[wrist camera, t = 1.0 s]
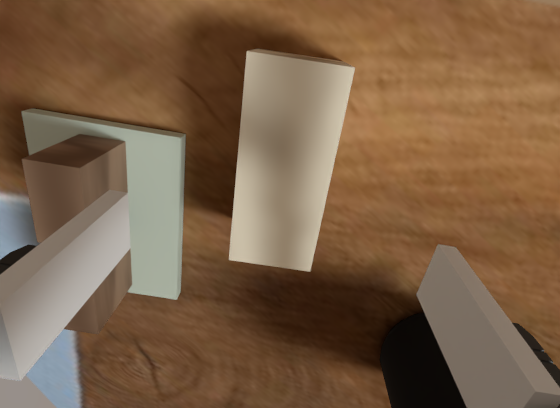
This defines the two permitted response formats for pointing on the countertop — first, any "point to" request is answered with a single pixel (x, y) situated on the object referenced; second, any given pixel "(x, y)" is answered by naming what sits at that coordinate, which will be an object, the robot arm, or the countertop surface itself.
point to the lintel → (286, 155)
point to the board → (135, 191)
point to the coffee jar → (417, 368)
